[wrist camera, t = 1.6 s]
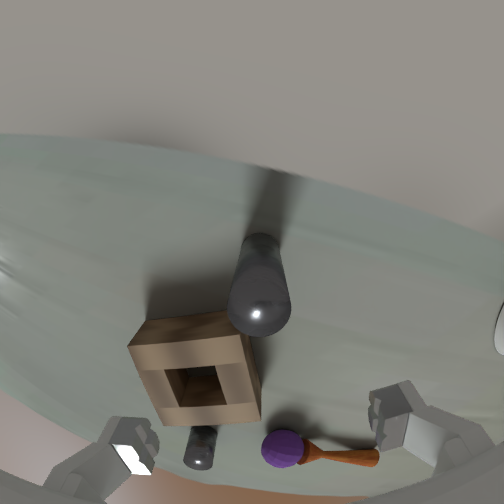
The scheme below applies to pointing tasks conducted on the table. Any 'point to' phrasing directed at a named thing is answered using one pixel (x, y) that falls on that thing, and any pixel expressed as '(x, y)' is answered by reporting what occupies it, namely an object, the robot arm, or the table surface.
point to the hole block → (197, 355)
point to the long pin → (259, 288)
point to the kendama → (308, 451)
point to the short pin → (200, 448)
